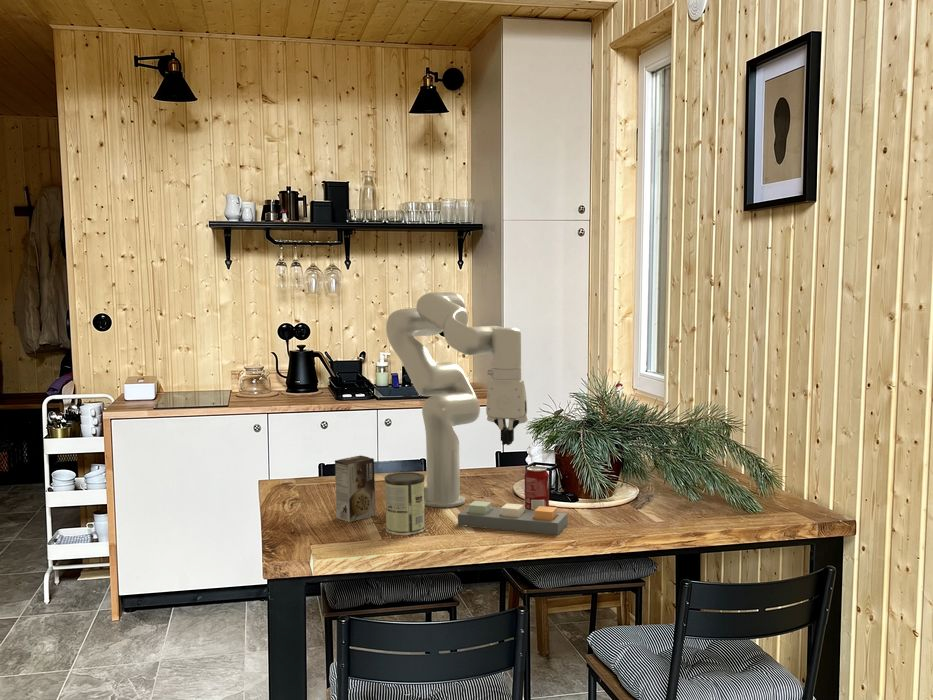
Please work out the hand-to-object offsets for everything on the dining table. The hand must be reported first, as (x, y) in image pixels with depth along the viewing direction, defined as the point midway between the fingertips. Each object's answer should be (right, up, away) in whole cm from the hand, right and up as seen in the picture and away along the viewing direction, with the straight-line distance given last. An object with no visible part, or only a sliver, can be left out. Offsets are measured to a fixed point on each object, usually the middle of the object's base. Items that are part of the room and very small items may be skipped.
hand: (507, 443), depth 233 cm
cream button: (+1, -19, -1) cm, 19 cm away
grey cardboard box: (-41, -21, +8) cm, 47 cm away
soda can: (+9, -20, +13) cm, 26 cm away
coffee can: (-27, -22, -4) cm, 35 cm away
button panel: (+1, -21, -1) cm, 21 cm away
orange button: (+10, -19, -4) cm, 22 cm away
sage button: (-7, -19, +2) cm, 20 cm away
